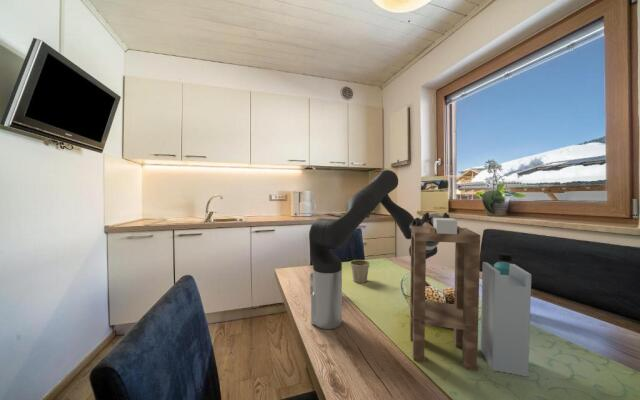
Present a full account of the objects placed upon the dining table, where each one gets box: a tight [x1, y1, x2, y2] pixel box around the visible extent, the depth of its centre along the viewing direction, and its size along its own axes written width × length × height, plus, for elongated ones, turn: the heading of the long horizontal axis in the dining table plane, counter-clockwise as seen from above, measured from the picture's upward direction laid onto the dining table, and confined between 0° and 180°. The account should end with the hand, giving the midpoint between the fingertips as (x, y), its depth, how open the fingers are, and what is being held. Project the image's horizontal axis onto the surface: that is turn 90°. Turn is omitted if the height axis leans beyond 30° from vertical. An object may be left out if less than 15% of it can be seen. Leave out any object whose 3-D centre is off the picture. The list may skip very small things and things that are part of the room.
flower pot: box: [349, 259, 371, 284], centre depth 116 cm, size 9×9×9 cm
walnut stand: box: [409, 222, 481, 372], centre depth 65 cm, size 14×11×33 cm
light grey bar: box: [429, 212, 458, 234], centre depth 68 cm, size 4×20×3 cm, turn 165°
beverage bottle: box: [493, 252, 513, 275], centre depth 87 cm, size 6×7×20 cm
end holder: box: [480, 261, 532, 378], centre depth 61 cm, size 7×8×24 cm
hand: (436, 215), depth 71 cm, fingers open, 4 cm apart
